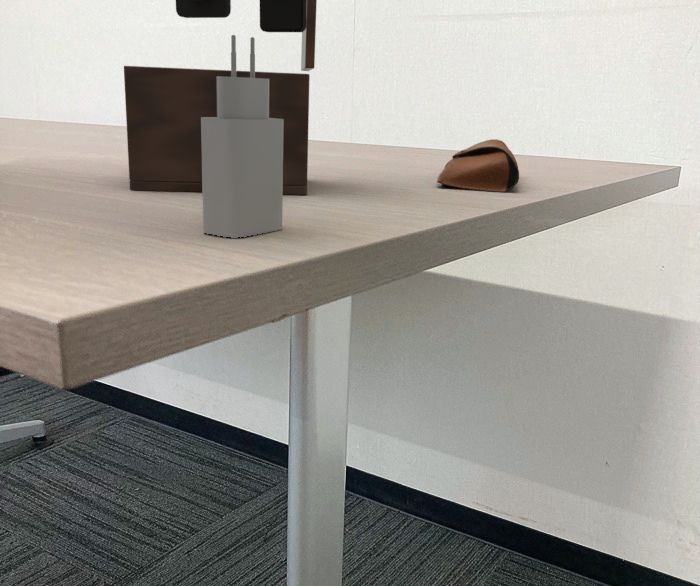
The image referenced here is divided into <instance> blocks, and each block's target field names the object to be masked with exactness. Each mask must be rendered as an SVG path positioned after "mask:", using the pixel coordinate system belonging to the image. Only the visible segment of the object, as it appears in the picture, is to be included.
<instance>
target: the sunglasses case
mask: <svg viewBox="0 0 700 586" xmlns="http://www.w3.org/2000/svg"><path fill="white" fill-rule="evenodd" d="M451 158H452V159H450V160H449V161H447V163H446V164H445V166H444V168H443V170H442V171H441V172H440V174H439V175H438V176H437V179H436V183H437V184H441V185H443V186H447V187H453V188H457V189H461V190H468V191H476V192H477V191H479V192H492V193H506V192H508V191H511V190H512V189H514V188H515V187H516V185H517V184H518V183H519V181H520V171H519V165H518V162H517V160H516V158H515V155H514V154H513V152H512V150H511V149H510V148H509V147H508V145H507V144H506V142H504V141H503V140H501V139H498V138H497V139H486V140H483V141H480V142H478V143H475V144H474V145H471V146H469V147H467V148H465V149H461V150H460V151H458V152H456V153H454V154H453V155H452V157H451Z"/></svg>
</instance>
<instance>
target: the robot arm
mask: <svg viewBox="0 0 700 586" xmlns="http://www.w3.org/2000/svg"><path fill="white" fill-rule="evenodd" d="M231 1H232V0H175V12H176V14H177V15H178V16H179V17H181V18H186V19H204V18H205V19H214V18H215V19H219V18H220V19H221V18H223V19H224V18H228V17H229V16H230V15H231V13H232V12H231V11H232V6H231V5H232V4H231V3H232V2H231ZM306 11H307V0H259V28H260V30H261V31H262V32H263V33H264V32H265V33H302V32H303V31H305V29H306Z"/></svg>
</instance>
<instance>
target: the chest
mask: <svg viewBox="0 0 700 586" xmlns="http://www.w3.org/2000/svg"><path fill="white" fill-rule="evenodd" d="M216 76H224V77H231V69H229V70H228V69H209V68H207V69H206V68H183V67H162V66H140V65H139V66H138V65H124V66H123V78H124V79H123V80H124V82H123V83H124V98H125V100H124V101H125V102H124V103H125V115H126V116H125V117H126V119H125V121H126V135H127V137H126V139H127V141H126V142H127V157H128V158H127V159H128V180H129V190H130V191H147V192H148V191H150V192H151V191H152V192H179V193H180V192H182V193H183V192H184V193H203V192H202V143H201V117H217V80H216ZM236 77H245V78H250V70H236ZM310 77H311V76H310V73H295V72H273V71H255V78H263V79H269V118H277V119H284V130H283V195H284V196H285V195H286V196H287V195H289V196H307V195H308V168H309V167H308V166H309V165H308V163H309V160H308V159H309V122H310V121H309V117H310V116H309V114H310Z"/></svg>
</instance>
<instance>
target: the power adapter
mask: <svg viewBox="0 0 700 586" xmlns="http://www.w3.org/2000/svg"><path fill="white" fill-rule="evenodd" d="M230 37H231V39H230V41H231V43H230V44H231V52H230V70H231V77H224V76H216V80H217V117H201V143H202V192H201V193H202V233H203V232H204V233H208V234H214V235H217V236H216V237H220V236H223V237H222V238H226V237H231V238H230V239H242V238H241V237H244V238H248V237H247V236H249V237H252V236H251V235H253V236H258V235H263V234H267V233H271V232H276V231H281V230H283V206H284V205H283V130H284V119H277V118H269V79H263V78H255V72H256V54H255V49H256V47H255V46H256V44H255V41H256V40H255V37H253V36H252V37H250V39H249V41H250V43H249V44H250V46H249V47H250V50H249V51H250V53H249V71H250V78H245V77H236V71H237V39H236V37H237V36H236V35H235V34H231V35H230ZM204 233H203V234H204ZM262 233H263V234H262ZM208 234H207V235H208ZM257 234H258V235H257ZM214 235H213V236H214ZM238 237H240V238H238Z"/></svg>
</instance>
